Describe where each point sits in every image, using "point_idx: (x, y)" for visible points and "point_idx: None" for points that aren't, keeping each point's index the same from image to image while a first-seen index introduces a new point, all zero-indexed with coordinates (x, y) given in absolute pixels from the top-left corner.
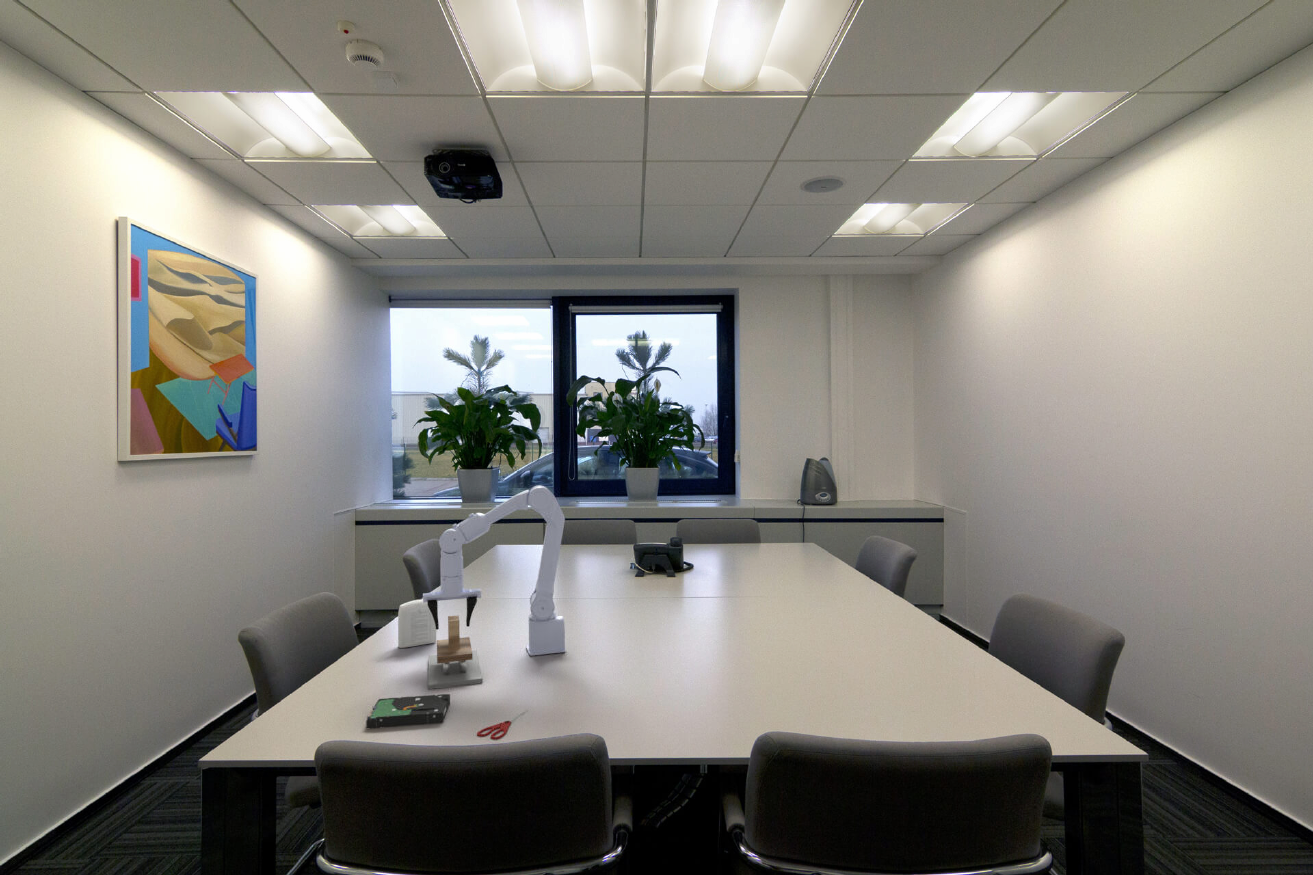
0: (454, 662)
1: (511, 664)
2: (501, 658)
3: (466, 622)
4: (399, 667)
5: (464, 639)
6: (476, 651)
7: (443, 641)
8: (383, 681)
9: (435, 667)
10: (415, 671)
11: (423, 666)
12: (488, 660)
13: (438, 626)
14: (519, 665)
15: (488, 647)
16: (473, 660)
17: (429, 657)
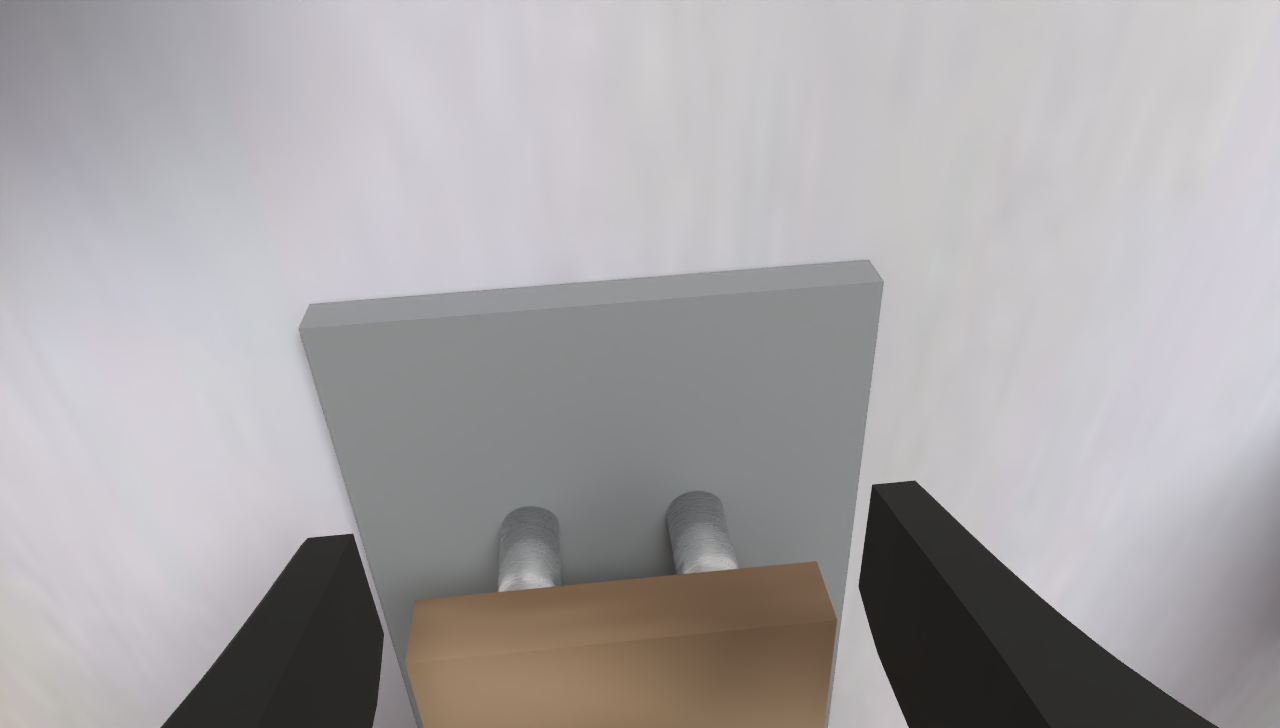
0: (622, 573)
1: (1089, 586)
2: (1070, 441)
3: (883, 581)
4: (41, 465)
5: (765, 686)
6: (875, 311)
7: (504, 705)
8: (61, 722)
9: None
10: (267, 586)
11: (308, 488)
12: (941, 465)
13: (375, 691)
14: (1135, 614)
15: (1074, 5)
16: (801, 557)
17: (324, 385)
